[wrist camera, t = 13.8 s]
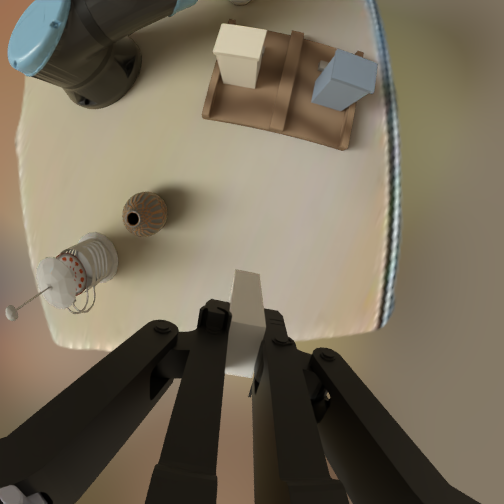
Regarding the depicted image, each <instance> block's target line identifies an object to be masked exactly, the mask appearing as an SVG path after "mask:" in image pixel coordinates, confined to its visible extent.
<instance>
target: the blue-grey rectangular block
mask: <svg viewBox="0 0 504 504" xmlns="http://www.w3.org/2000/svg"><path fill="white" fill-rule="evenodd" d="M377 66H378V64H377V63H375V62H372V61H370V60H367V59H365V58H362V57H360V56H357V55H354V54H352V53H349V52H346V51H343V50H340V49H337V50H336V51H335V56H334V57H333V58H332V60H331V61H330V62H329V64H328V65H327V66H326V68H325V69H324V70H323V72H322V73H321V74H320V76H319V77H318V78H317V80H316V81H315V86H314V91H313V95H312V100H311V102H312V103H315V104H318V105H322V106H325V107H328V108H332V109H335V110H338V111H342V110H344V109H345V108H347V107H348V106H350V105H351V104H353V103H354V102H356V101H357V100H359V99H360V98H362V97H364V96H365V95H367V94H368V93H370V94H373V93H374V89H375V82H376V74H377Z"/></svg>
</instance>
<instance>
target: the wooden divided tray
mask: <svg viewBox="0 0 504 504" xmlns="http://www.w3.org/2000/svg"><path fill="white" fill-rule="evenodd" d="M228 24H231V25H236V20H232V19H229V22H228ZM303 37H304V33H301V32H297V31H293V30H292V33H291V36H290V35H286V34H282V33H277V32H272V31H267V33H266V37H265V40H264V44H263V49H262V57H261V65H260V70H259V74H258V78H257V82H256V86H255V89H253V88H247V87H242V86H236V85H230V84H224V83H223V80H222V76H221V72H220V68H219V65H218V61H217V60H216V63H215V67H214V70H213V74H212V77H211V81H210V84H209V88H208V92H207V96H206V99H205V103H204V107H203V111H202V118H203V119H208V120H214V121H220V122H226V123H231V124H237V125H242V126H247V127H252V128H257V129H261V130H266V131H270V132H275V133H279V134H283V135H287V136H291V137H295V138H299V139H303V140H307V141H310V142H314V143H318V144H321V145H325V146H328V147H331V148H335V149H338V150H341V151H343V150H345V149H347V148H348V144H349V139H350V134H351V129H352V123H353V118H354V112H355V107H356V102H354V103H353V104H351V105H350V106H348V107H347V108H345V109H344V110H342V111H338V110H335V109H332V108H328V107H325V106H322V105H318V104H315V103H312V102H311V100H312V95H313V91H314V86H315V81H316V80H317V78H318V77H319V76H320V74H321V73H322V72H323V70H324V69H325V68H326V66H327V65H328V64H329V62H330V61H331V60H332V58H333V57H334V56H335V51H336V50H337V49H336V48H333V47H330V46H327V45H324V44H320V43H317V42H313V41H310V40H306V39H303ZM363 54H364V53H363V52H360V51H357V52H356V53H355V54H354V55H357V56H360V57H362V58H363Z"/></svg>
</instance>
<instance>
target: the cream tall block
mask: <svg viewBox="0 0 504 504" xmlns="http://www.w3.org/2000/svg"><path fill="white" fill-rule="evenodd" d="M266 33H267V30H263V29H258V28H252V27H246V26H239V25H231V24H223V23H222V25H221V28H220V31H219V34H218V37H217V40H216V43H215V46H214V49H213V54H214V55H216V57H217V61H218V65H219V68H220V72H221V76H222V80H223V83H224V84H230V85H236V86H242V87H247V88H253V89H255V86H256V82H257V78H258V74H259V70H260V65H261V57H262V49H263V44H264V40H265V37H266Z"/></svg>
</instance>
